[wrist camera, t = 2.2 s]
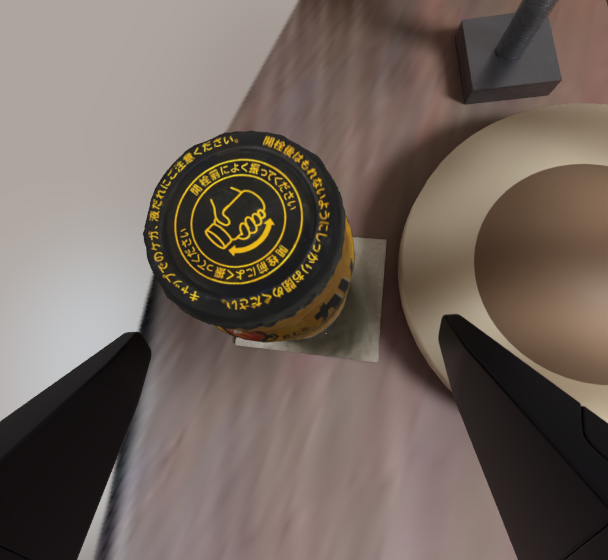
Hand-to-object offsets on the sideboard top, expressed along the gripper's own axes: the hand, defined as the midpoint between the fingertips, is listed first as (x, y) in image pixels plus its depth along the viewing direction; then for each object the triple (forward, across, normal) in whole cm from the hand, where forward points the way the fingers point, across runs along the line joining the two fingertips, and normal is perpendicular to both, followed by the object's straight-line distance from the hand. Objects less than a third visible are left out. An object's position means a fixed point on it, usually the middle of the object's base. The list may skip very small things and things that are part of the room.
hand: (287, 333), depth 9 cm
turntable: (+8, -14, +4) cm, 17 cm away
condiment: (+9, 0, +5) cm, 10 cm away
